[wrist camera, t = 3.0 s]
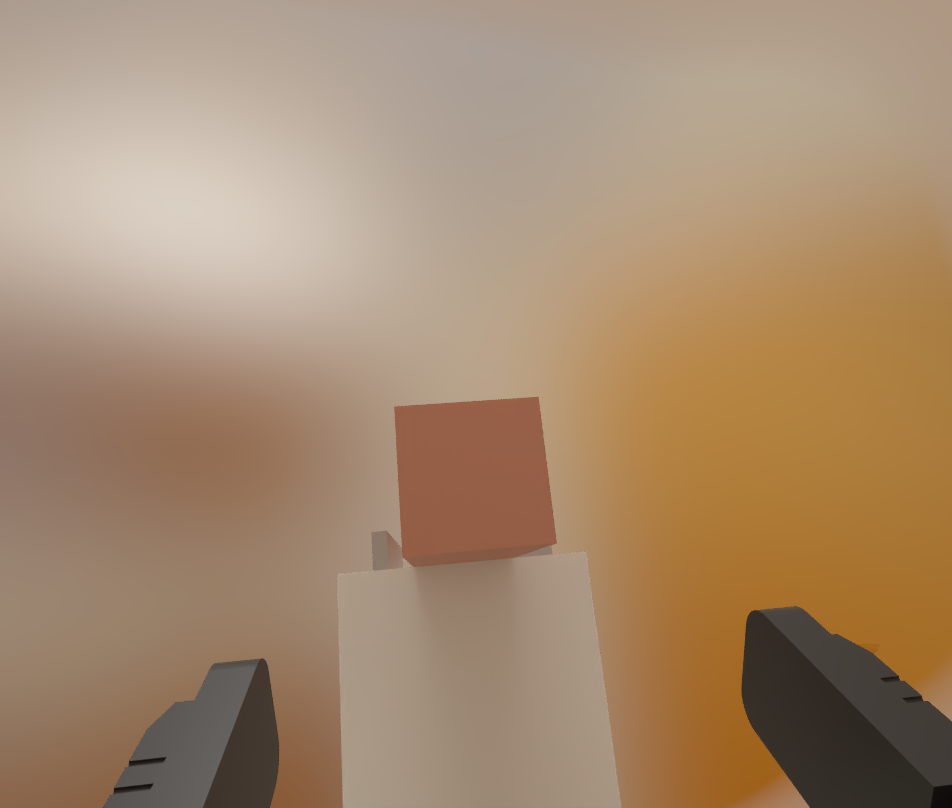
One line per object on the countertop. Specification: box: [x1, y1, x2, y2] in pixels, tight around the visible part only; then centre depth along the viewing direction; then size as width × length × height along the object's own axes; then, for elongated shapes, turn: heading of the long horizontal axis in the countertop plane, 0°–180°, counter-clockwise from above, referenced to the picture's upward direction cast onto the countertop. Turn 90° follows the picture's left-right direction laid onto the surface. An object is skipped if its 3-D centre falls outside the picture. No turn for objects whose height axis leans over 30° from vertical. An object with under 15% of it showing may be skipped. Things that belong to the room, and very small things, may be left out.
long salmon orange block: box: [395, 397, 557, 567], centre depth 26 cm, size 4×21×4 cm, turn 4°
